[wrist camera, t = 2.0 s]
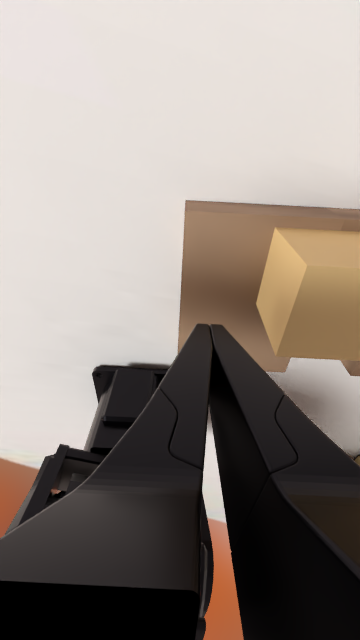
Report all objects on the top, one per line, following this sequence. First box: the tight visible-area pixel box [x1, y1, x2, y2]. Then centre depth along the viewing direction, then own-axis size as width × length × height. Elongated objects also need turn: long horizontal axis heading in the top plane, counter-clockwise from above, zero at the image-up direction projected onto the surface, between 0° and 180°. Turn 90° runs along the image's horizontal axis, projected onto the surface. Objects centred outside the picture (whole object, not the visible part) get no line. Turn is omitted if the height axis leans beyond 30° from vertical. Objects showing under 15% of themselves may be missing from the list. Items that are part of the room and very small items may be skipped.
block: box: [256, 227, 360, 361], centre depth 11 cm, size 4×4×4 cm
